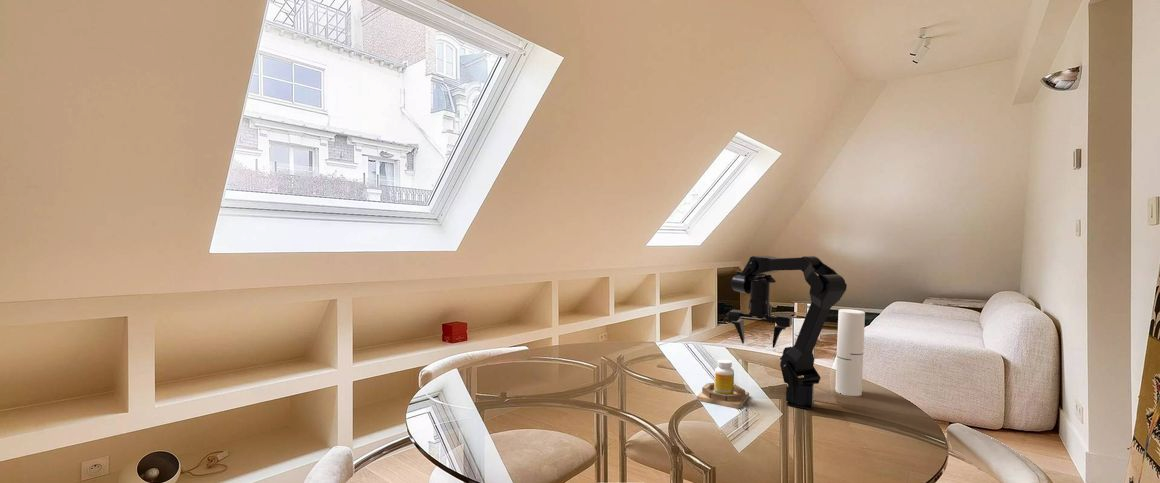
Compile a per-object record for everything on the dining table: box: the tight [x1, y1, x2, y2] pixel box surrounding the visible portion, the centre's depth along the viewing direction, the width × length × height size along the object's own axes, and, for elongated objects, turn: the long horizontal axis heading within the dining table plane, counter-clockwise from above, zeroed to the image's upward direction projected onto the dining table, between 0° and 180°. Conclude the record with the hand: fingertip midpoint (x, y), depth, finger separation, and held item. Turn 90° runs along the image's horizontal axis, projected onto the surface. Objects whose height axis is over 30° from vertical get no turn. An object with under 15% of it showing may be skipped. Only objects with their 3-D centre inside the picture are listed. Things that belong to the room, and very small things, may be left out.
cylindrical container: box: [834, 308, 866, 397], centre depth 157 cm, size 7×7×25 cm
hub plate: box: [696, 382, 750, 410], centre depth 150 cm, size 12×12×3 cm
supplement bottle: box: [714, 359, 735, 395], centre depth 150 cm, size 5×5×10 cm
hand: (758, 345), depth 161 cm, fingers open, 9 cm apart
